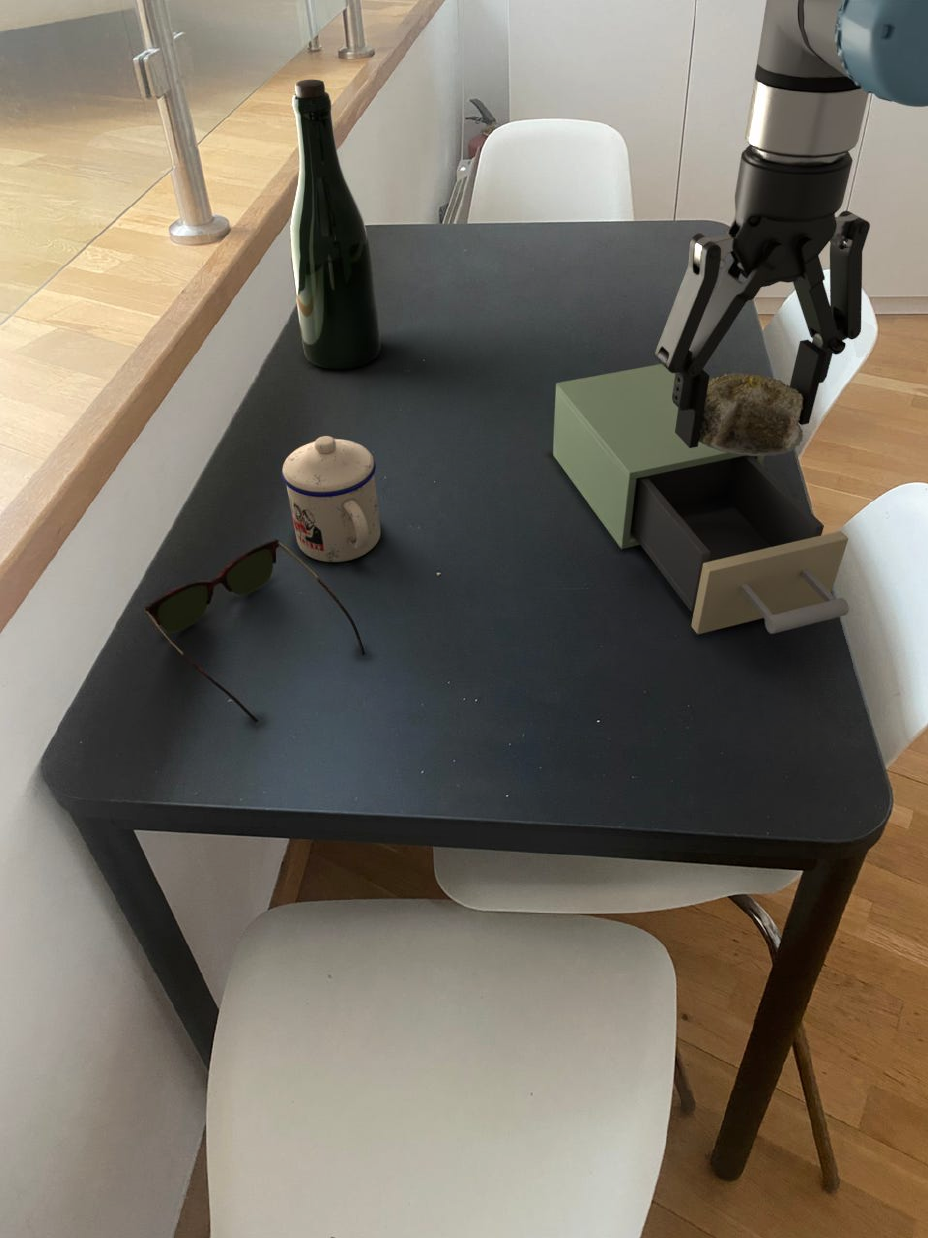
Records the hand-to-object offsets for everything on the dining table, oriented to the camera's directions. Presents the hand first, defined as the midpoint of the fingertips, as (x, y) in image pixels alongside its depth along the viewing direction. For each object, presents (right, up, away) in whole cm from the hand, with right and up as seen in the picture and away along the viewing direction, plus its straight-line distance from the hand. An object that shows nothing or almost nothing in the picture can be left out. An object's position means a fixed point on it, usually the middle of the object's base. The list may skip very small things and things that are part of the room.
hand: (742, 427), depth 79 cm
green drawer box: (-4, -2, +21) cm, 22 cm away
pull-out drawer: (+1, -13, +8) cm, 15 cm away
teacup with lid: (-36, -9, +15) cm, 40 cm away
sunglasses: (-42, -19, +4) cm, 46 cm away
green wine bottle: (-41, +20, +47) cm, 65 cm away
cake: (0, 0, 0) cm, 0 cm away
